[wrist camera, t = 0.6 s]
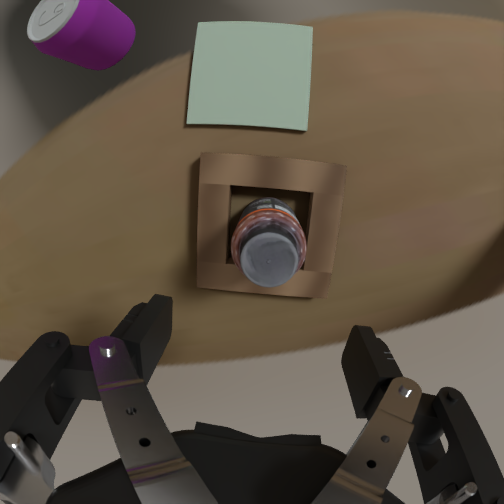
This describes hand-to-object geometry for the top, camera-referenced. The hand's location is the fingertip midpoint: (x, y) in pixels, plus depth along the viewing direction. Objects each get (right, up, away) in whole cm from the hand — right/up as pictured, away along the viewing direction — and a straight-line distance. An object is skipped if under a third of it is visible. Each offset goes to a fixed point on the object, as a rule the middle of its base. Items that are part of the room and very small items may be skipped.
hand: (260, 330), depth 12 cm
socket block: (+1, +6, +18) cm, 19 cm away
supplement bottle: (+1, +6, +18) cm, 19 cm away
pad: (-1, +22, +13) cm, 25 cm away
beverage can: (-17, +28, +12) cm, 35 cm away
